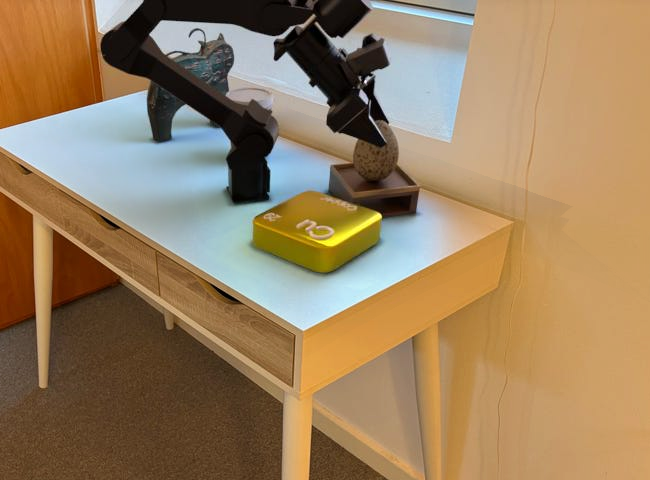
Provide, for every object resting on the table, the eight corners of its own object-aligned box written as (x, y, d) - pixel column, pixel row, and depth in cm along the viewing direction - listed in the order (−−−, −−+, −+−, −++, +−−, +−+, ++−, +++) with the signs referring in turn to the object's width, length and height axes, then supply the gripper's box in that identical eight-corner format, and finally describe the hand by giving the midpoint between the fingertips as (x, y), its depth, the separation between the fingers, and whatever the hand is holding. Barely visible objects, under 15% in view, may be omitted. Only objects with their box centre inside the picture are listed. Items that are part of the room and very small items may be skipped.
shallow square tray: (351, 221, 116) (353, 193, 114) (328, 191, 126) (330, 164, 123) (415, 213, 118) (420, 185, 115) (388, 184, 127) (391, 158, 124)
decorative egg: (398, 174, 121) (406, 114, 115) (392, 191, 115) (400, 129, 109) (355, 170, 123) (360, 111, 117) (347, 186, 118) (352, 126, 112)
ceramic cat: (224, 117, 159) (222, 19, 147) (241, 125, 154) (240, 25, 142) (145, 137, 151) (137, 36, 139) (161, 146, 147) (153, 42, 135)
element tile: (384, 239, 111) (388, 210, 108) (325, 277, 103) (327, 247, 100) (307, 212, 120) (308, 184, 117) (246, 244, 112) (246, 216, 109)
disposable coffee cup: (217, 163, 138) (215, 100, 131) (233, 146, 145) (233, 84, 138) (264, 169, 135) (265, 104, 128) (279, 150, 142) (281, 88, 135)
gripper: (356, 36, 98) (428, 120, 102) (366, 6, 112) (429, 81, 117) (296, 93, 105) (366, 170, 109) (312, 58, 119) (373, 127, 123)
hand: (385, 135), depth 114 cm, fingers open, 9 cm apart
